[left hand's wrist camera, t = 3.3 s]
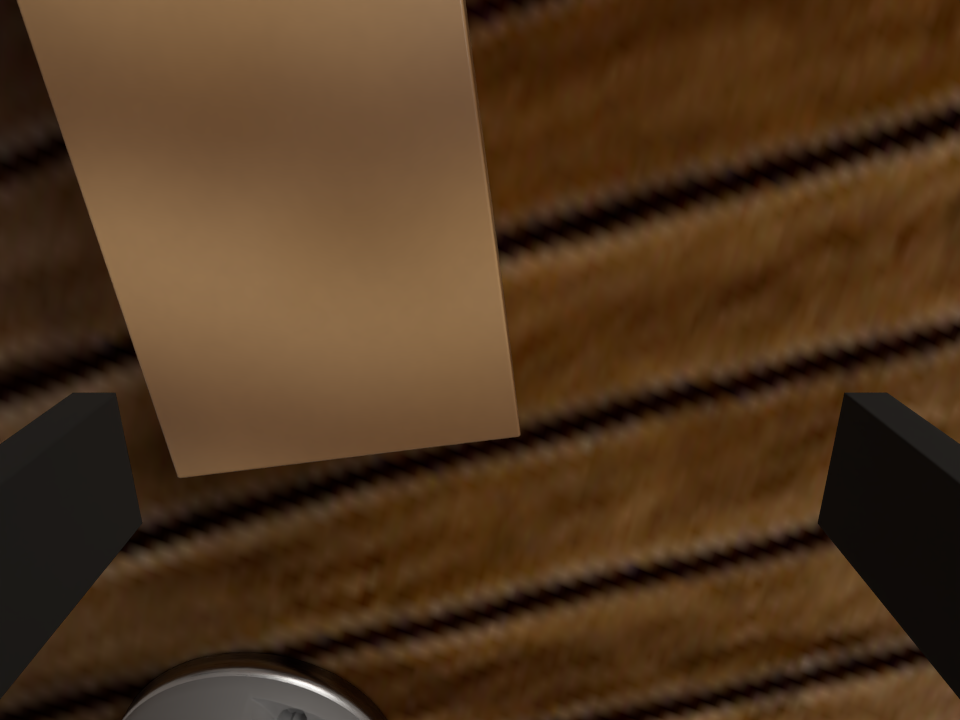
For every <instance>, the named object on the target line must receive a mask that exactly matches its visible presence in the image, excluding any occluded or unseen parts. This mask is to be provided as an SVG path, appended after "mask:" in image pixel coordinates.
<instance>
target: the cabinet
mask: <svg viewBox="0 0 960 720" xmlns="http://www.w3.org/2000/svg"><path fill="white" fill-rule="evenodd" d="M17 3H18V6H19V9H20V12H21V15H22V18H23V21H24V24H25V27H26V30H27V32H28V35H29V38H30V41H31V44H32V47H33V50H34V53H35V56H36V59H37V62H38V65H39V68H40V71H41V74H42V77H43V80H44V83H45V86H46V89H47V92H48V95H49V98H50V100H51V103H52V106H53V109H54V112H55V115H56V118H57V121H58V124H59V127H60V130H61V133H62V136H63V139H64V142H65V145H66V148H67V151H68V154H69V157H70V160H71V163H72V166H73V169H74V171H75V174H76V177H77V180H78V183H79V186H80V189H81V192H82V195H83V198H84V201H85V204H86V207H87V210H88V213H89V216H90V219H91V222H92V225H93V228H94V231H95V234H96V237H97V240H98V242H99V245H100V248H101V251H102V254H103V257H104V260H105V263H106V266H107V269H108V272H109V275H110V278H111V281H112V284H113V287H114V290H115V293H116V296H117V299H118V302H119V305H120V308H121V310H122V313H123V316H124V319H125V322H126V325H127V328H128V331H129V334H130V337H131V340H132V343H133V346H134V349H135V352H136V355H137V358H138V361H139V364H140V367H141V370H142V373H143V376H144V379H145V381H146V384H147V387H148V390H149V393H150V396H151V399H152V402H153V405H154V408H155V411H156V414H157V417H158V420H159V423H160V426H161V429H162V432H163V435H164V438H165V441H166V444H167V447H168V450H169V452H170V455H171V458H172V461H173V464H174V467H175V470H176V473H177V476H178V478H186V477H194V476H202V475H210V474H219V473H227V472H235V471H243V470H251V469H259V468H267V467H275V466H284V465H292V464H300V463H308V462H316V461H324V460H332V459H340V458H349V457H357V456H365V455H373V454H381V453H389V452H397V451H405V450H414V449H422V448H430V447H438V446H446V445H454V444H462V443H470V442H479V441H487V440H495V439H503V438H511V437H518V436H520V425H519V417H518V408H517V399H516V391H515V382H514V373H513V364H512V356H511V347H510V339H509V330H508V323H507V315H506V308H505V300H504V292H503V285H502V277H501V269H500V262H499V254H498V247H497V239H496V231H495V224H494V216H493V208H492V201H491V193H490V186H489V178H488V170H487V163H486V155H485V147H484V140H483V132H482V125H481V117H480V109H479V102H478V94H477V86H476V79H475V71H474V64H473V56H472V48H471V41H470V33H469V25H468V18H467V10H466V3H465V0H17Z"/></svg>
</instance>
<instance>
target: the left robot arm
mask: <svg viewBox="0 0 960 720" xmlns="http://www.w3.org/2000/svg"><path fill="white" fill-rule="evenodd" d="M141 524H142V519H141V515H140V510H139V505H138V500H137V495H136V490H135V485H134V480H133V476H132V471H131V466H130V461H129V456H128V451H127V446H126V441H125V437H124V432H123V427H122V422H121V417H120V412H119V407H118V402H117V397H116V393H72V394H71V395H69V396H68V397H66V398H65V399H63V400H62V401H61V402H59V403H58V404H56V405H55V406H54V407H52V408H51V409H49V410H48V411H47V412H45V413H44V414H42V415H41V416H39V417H38V418H37V419H35V420H34V421H32V422H31V423H30V424H28V425H27V426H25V427H24V428H22V429H21V430H20V431H18V432H17V433H15V434H14V435H13V436H11V437H10V438H8V439H7V440H5V441H4V442H3V443H1V444H0V699H1V697H2V696H3V695H4V694H5V693H6V691H7V690H8V689H9V688H10V686H11V685H12V684H13V683H14V681H15V680H16V679H17V678H18V676H19V675H20V674H21V673H22V671H23V670H24V669H25V668H26V667H27V665H28V664H29V663H30V662H31V660H32V659H33V658H34V657H35V655H36V654H37V653H38V652H39V650H40V649H41V648H42V647H43V645H44V644H45V643H46V642H47V641H48V639H49V638H50V637H51V636H52V634H53V633H54V632H55V631H56V629H57V628H58V627H59V626H60V624H61V623H62V622H63V621H64V619H65V618H66V617H67V616H68V615H69V613H70V612H71V611H72V610H73V608H74V607H75V606H76V605H77V603H78V602H79V601H80V600H81V598H82V597H83V596H84V595H85V593H86V592H87V591H88V590H89V589H90V587H91V586H92V585H93V584H94V582H95V581H96V580H97V579H98V577H99V576H100V575H101V574H102V572H103V571H104V570H105V569H106V567H107V566H108V565H109V564H110V563H111V561H112V560H113V559H114V558H115V556H116V555H117V554H118V553H119V551H120V550H121V549H122V548H123V546H124V545H125V544H126V543H127V541H128V540H129V539H130V538H131V537H132V535H133V534H134V533H135V532H136V530H137V529H138V528H139V527H140V525H141ZM818 524H819V525H820V527H821V528H822V529H823V530H824V532H825V533H826V534H827V535H828V537H829V538H830V539H831V540H832V541H833V543H834V544H835V545H836V546H837V548H838V549H839V550H840V551H841V553H842V554H843V555H844V556H845V558H846V559H847V560H848V561H849V563H850V564H851V565H852V566H853V567H854V569H855V570H856V571H857V572H858V574H859V575H860V576H861V577H862V579H863V580H864V581H865V582H866V584H867V585H868V586H869V587H870V589H871V590H872V591H873V592H874V593H875V595H876V596H877V597H878V598H879V600H880V601H881V602H882V603H883V605H884V606H885V607H886V608H887V610H888V611H889V612H890V613H891V615H892V616H893V617H894V618H895V619H896V621H897V622H898V623H899V624H900V626H901V627H902V628H903V629H904V631H905V632H906V633H907V634H908V636H909V637H910V638H911V639H912V641H913V642H914V643H915V644H916V646H917V647H918V648H919V649H920V650H921V652H922V653H923V654H924V655H925V657H926V658H927V659H928V660H929V662H930V663H931V664H932V665H933V667H934V668H935V669H936V670H937V672H938V673H939V674H940V675H941V676H942V678H943V679H944V680H945V681H946V683H947V684H948V685H949V686H950V688H951V689H952V690H953V691H954V693H955V694H956V695H957V696H958V698H959V699H960V444H959V443H957V442H956V441H955V440H953V439H952V438H950V437H949V436H947V435H946V434H945V433H943V432H942V431H940V430H939V429H938V428H936V427H935V426H933V425H932V424H930V423H929V422H928V421H926V420H925V419H923V418H922V417H921V416H919V415H918V414H916V413H915V412H913V411H912V410H911V409H909V408H908V407H906V406H905V405H904V404H902V403H901V402H899V401H898V400H897V399H895V398H894V397H892V396H891V395H889V394H888V393H844V397H843V402H842V407H841V412H840V417H839V422H838V427H837V432H836V437H835V441H834V446H833V451H832V456H831V461H830V466H829V471H828V476H827V480H826V485H825V490H824V495H823V500H822V505H821V510H820V515H819V519H818ZM122 720H387V719H386V718H385V716H384V715H383V714H382V712H381V711H380V710H379V708H378V707H377V706H376V705H375V704H374V703H373V702H372V701H371V700H370V699H369V698H368V697H367V696H365V695H364V694H363V693H362V692H361V691H360V690H358V689H357V688H356V687H354V686H353V685H351V684H350V683H348V682H347V681H345V680H344V679H342V678H340V677H339V676H337V675H335V674H333V673H331V672H329V671H327V670H325V669H322V668H320V667H317V666H315V665H312V664H309V663H306V662H303V661H300V660H296V659H292V658H288V657H284V656H278V655H272V654H263V653H225V654H218V655H211V656H207V657H203V658H198V659H195V660H192V661H189V662H186V663H183V664H181V665H179V666H176V667H174V668H172V669H170V670H168V671H167V672H165V673H163V674H161V675H160V676H158V677H157V678H156V679H154V680H153V681H151V682H150V683H149V684H148V685H147V686H146V687H145V688H144V689H143V690H142V691H141V692H140V693H139V694H138V695H137V697H136V698H135V699H134V701H133V702H132V704H131V705H130V707H129V709H128V710H127V712H126V714H125V715H124V717H123V719H122Z"/></svg>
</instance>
